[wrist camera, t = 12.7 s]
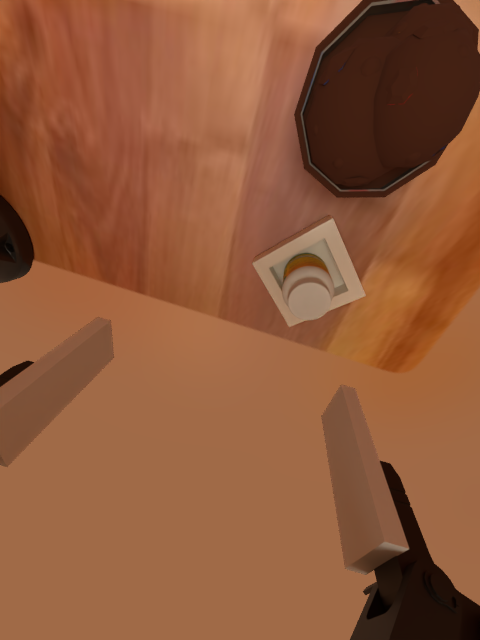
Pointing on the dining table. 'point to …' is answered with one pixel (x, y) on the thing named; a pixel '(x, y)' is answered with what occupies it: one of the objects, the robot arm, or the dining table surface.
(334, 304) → the holder
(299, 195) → the dining table surface
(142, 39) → the dining table surface
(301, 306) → the supplement bottle
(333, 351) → the dining table surface
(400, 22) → the ice cream bowl
